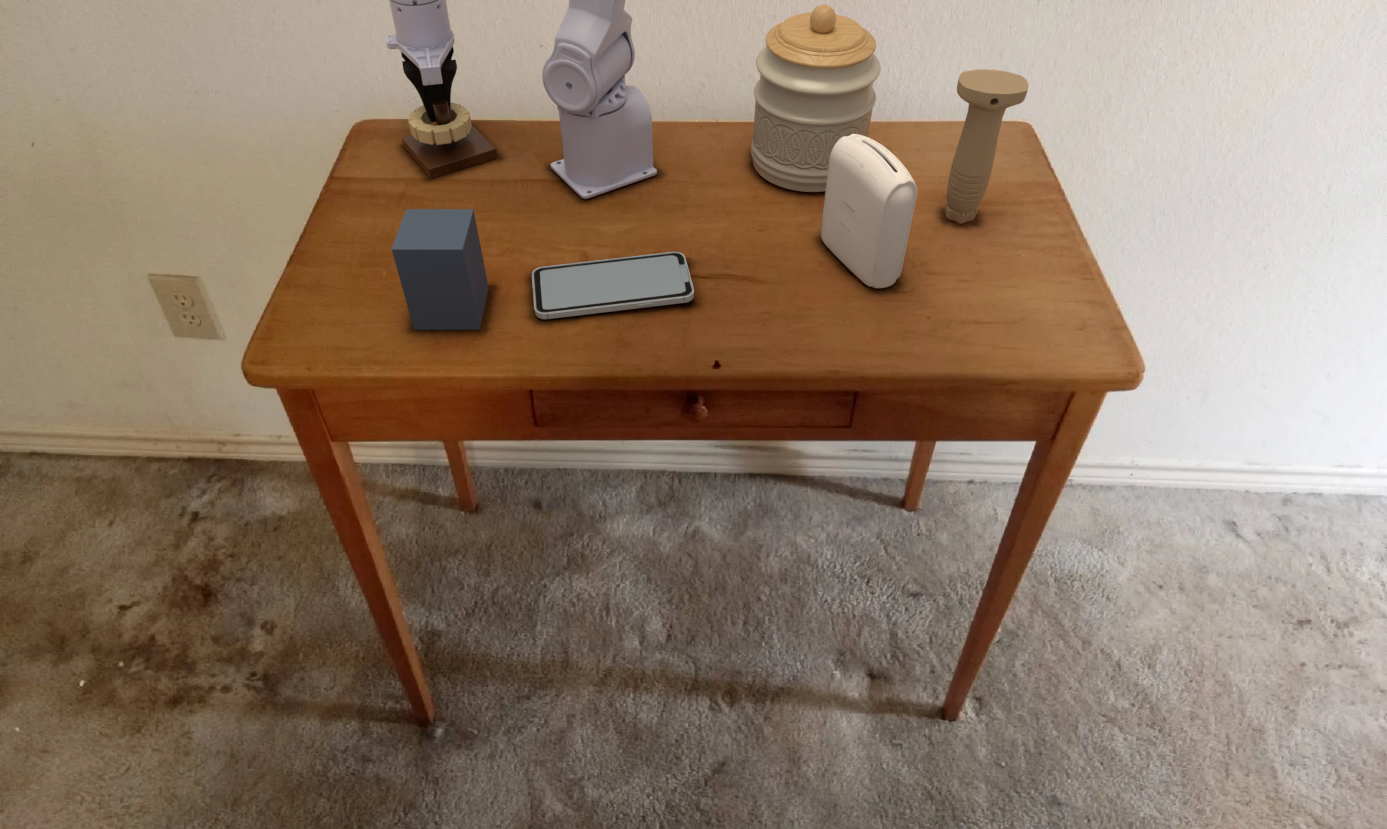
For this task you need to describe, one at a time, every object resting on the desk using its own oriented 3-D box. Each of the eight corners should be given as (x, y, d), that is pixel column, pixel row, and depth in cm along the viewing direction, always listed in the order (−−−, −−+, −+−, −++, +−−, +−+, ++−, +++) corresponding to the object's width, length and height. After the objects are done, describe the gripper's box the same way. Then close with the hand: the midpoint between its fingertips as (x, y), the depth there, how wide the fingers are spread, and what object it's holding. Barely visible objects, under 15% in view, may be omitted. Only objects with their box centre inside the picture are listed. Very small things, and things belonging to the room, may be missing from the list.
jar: (740, 186, 101) (748, 26, 88) (760, 128, 110) (770, -25, 97) (858, 202, 99) (884, 40, 86) (869, 141, 108) (894, -13, 95)
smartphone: (531, 267, 89) (683, 250, 91) (532, 275, 90) (683, 258, 91) (534, 315, 84) (695, 296, 86) (536, 323, 85) (696, 304, 86)
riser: (489, 288, 88) (473, 208, 82) (479, 330, 84) (462, 249, 77) (426, 288, 88) (405, 208, 82) (413, 330, 84) (391, 249, 77)
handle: (992, 231, 95) (1031, 95, 84) (929, 227, 96) (961, 91, 85) (987, 205, 99) (1025, 71, 88) (927, 201, 99) (956, 67, 88)
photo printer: (813, 238, 94) (826, 127, 85) (848, 227, 96) (865, 117, 87) (868, 295, 88) (889, 182, 79) (905, 283, 89) (930, 171, 80)
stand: (468, 128, 109) (459, 78, 105) (497, 158, 104) (488, 107, 100) (403, 147, 106) (391, 96, 101) (430, 178, 101) (419, 127, 97)
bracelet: (456, 109, 107) (454, 96, 106) (481, 134, 103) (478, 121, 102) (402, 124, 104) (399, 111, 103) (425, 150, 101) (422, 137, 99)
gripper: (373, -31, 99) (399, 88, 109) (379, 27, 89) (407, 152, 99) (440, -36, 100) (460, 82, 110) (453, 21, 91) (473, 144, 101)
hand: (439, 115), depth 105 cm, fingers closed on bracelet, 2 cm apart
